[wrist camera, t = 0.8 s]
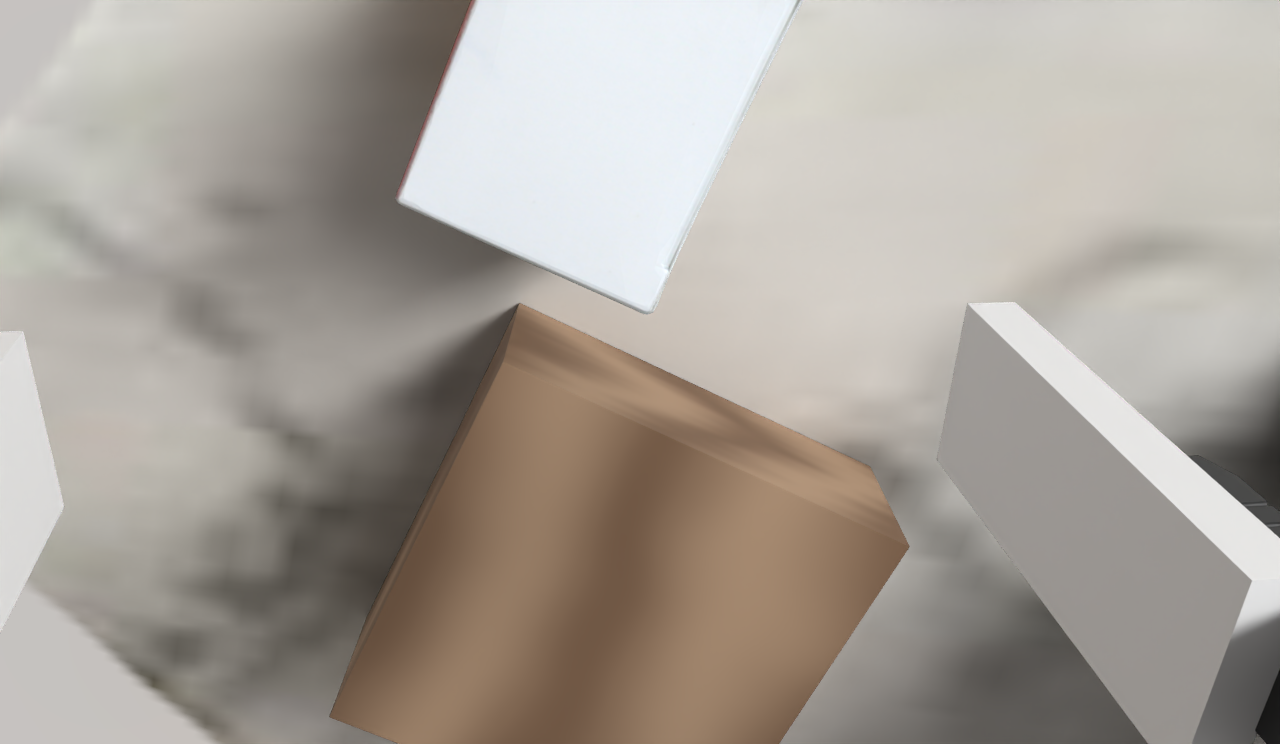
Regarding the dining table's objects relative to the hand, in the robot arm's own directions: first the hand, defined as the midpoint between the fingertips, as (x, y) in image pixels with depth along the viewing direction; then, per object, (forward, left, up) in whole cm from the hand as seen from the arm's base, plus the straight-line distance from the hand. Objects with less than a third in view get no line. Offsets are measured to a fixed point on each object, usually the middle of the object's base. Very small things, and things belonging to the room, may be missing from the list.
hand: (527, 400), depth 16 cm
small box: (+1, -4, -17) cm, 17 cm away
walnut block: (-6, +10, -17) cm, 20 cm away
